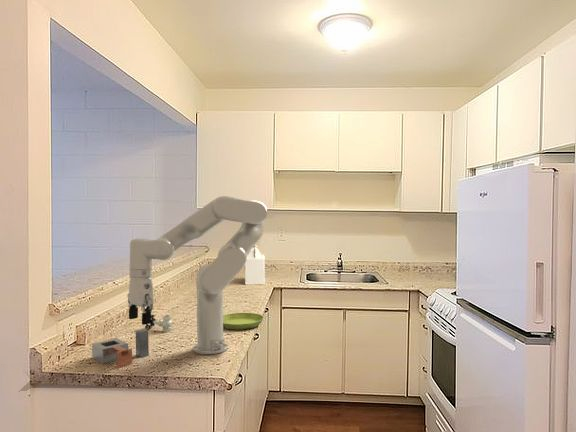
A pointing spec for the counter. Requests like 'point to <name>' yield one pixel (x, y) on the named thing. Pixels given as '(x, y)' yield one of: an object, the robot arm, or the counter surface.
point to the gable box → (255, 267)
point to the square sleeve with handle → (112, 352)
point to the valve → (161, 323)
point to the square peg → (142, 343)
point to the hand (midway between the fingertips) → (139, 321)
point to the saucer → (242, 320)
